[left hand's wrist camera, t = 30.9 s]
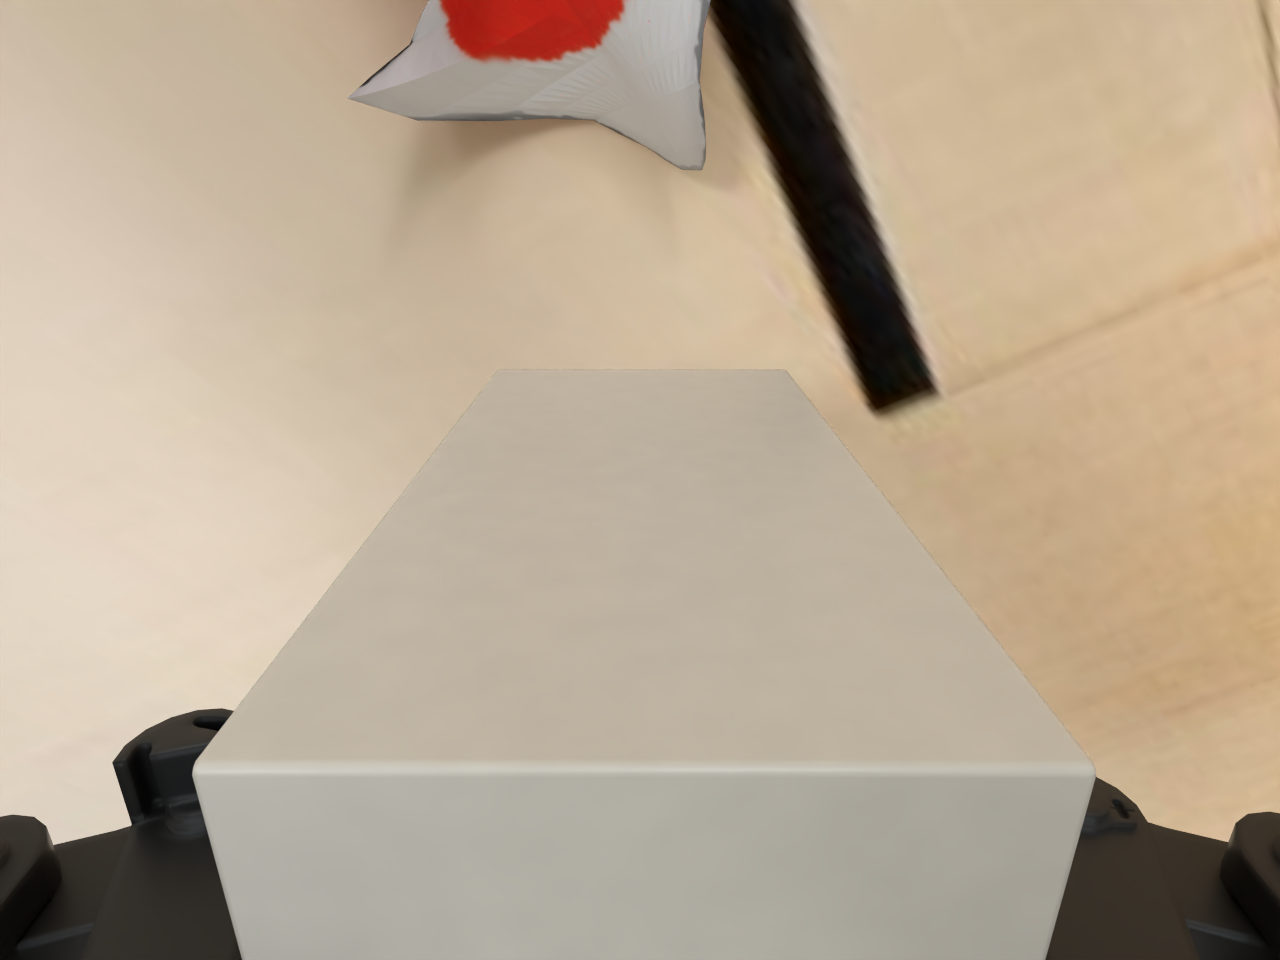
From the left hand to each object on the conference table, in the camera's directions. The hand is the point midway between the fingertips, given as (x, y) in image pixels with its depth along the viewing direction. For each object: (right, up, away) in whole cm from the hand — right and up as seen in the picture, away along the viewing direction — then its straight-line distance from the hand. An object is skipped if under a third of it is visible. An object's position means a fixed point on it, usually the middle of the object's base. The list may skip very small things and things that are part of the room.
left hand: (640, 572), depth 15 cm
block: (0, +1, +3) cm, 3 cm away
